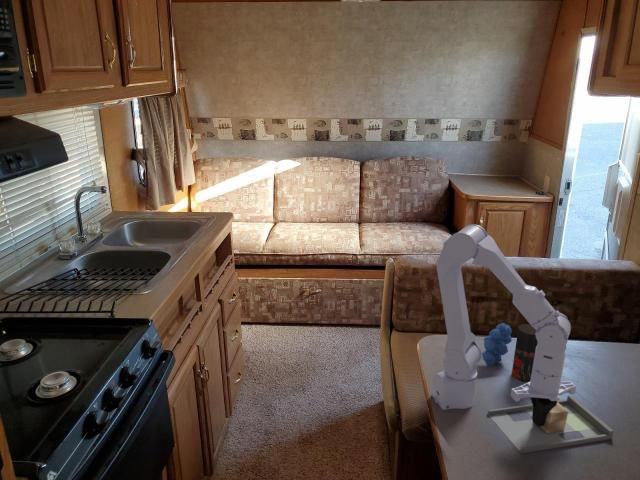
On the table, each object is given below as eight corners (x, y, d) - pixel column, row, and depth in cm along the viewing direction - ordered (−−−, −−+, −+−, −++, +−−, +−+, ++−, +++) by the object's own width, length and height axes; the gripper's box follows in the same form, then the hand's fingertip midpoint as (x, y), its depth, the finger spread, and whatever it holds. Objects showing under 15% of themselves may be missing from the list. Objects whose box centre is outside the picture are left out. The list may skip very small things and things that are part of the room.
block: (546, 433, 106) (551, 413, 104) (533, 420, 110) (537, 401, 109) (563, 430, 107) (568, 411, 106) (549, 418, 111) (553, 399, 110)
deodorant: (537, 388, 125) (546, 336, 120) (512, 385, 126) (520, 333, 122) (532, 376, 130) (540, 325, 126) (509, 373, 132) (516, 323, 127)
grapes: (493, 350, 143) (498, 313, 139) (514, 360, 138) (519, 322, 134) (469, 363, 136) (473, 324, 132) (490, 374, 131) (495, 334, 127)
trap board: (520, 459, 101) (522, 445, 100) (486, 419, 113) (488, 406, 112) (610, 444, 105) (613, 430, 104) (568, 407, 117) (571, 395, 116)
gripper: (528, 383, 98) (519, 439, 102) (590, 376, 101) (579, 430, 105) (508, 365, 105) (500, 418, 109) (567, 358, 108) (557, 410, 112)
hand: (538, 423), depth 108 cm, fingers closed, pressing on block
